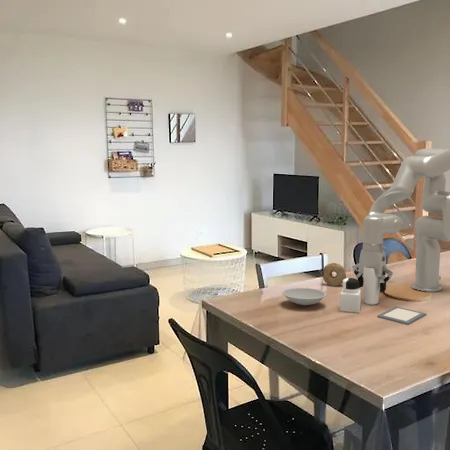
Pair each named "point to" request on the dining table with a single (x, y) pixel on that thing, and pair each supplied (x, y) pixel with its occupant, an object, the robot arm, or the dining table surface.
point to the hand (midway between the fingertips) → (371, 289)
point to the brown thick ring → (331, 279)
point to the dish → (304, 295)
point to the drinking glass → (370, 286)
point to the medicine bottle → (350, 296)
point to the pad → (401, 315)
